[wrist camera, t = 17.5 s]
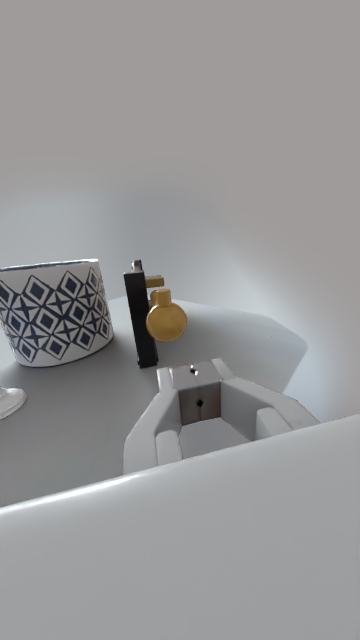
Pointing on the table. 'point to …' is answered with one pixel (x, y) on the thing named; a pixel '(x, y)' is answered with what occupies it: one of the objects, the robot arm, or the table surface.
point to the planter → (54, 311)
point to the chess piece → (10, 401)
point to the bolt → (165, 317)
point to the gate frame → (142, 313)
